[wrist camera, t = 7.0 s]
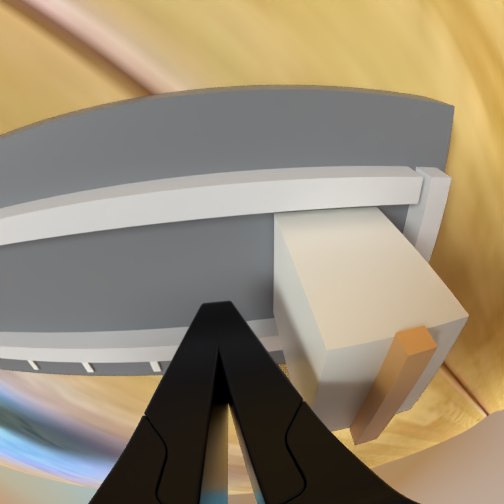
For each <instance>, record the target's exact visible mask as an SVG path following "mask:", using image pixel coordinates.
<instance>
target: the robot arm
mask: <svg viewBox="0 0 504 504" xmlns="http://www.w3.org/2000/svg"><path fill="white" fill-rule="evenodd" d="M228 404H229V407H230V411H231V414H232V418H233V422H234V425H235V429H236V433H237V436H238V440H239V444H240V447H241V451H242V454H243V457H244V461H245V464H246V468H247V471H248V474H249V478H250V481H251V484H252V488H253V491H254V494H255V497H256V500H257V503H258V504H420V503H417V502H415V501H413V500H410V499H409V498H407V497H405V496H403V495H402V494H400V493H399V492H397V491H396V490H394V489H393V488H392V487H390V486H389V485H388V484H387V483H385V482H384V481H383V480H382V479H381V478H379V477H378V476H377V475H376V474H375V473H374V472H373V471H372V470H371V469H369V468H368V467H367V466H366V465H365V464H364V463H363V462H362V461H361V460H359V459H358V458H357V457H356V456H355V455H354V454H353V453H352V452H351V451H350V450H348V449H347V448H346V447H345V446H344V445H343V444H342V443H341V442H340V441H339V440H338V439H337V438H336V437H335V436H334V435H333V434H332V433H331V432H330V431H329V429H328V428H327V427H326V426H325V425H324V423H323V422H322V421H321V420H320V419H319V418H318V416H317V415H316V414H315V413H314V411H313V410H312V409H311V408H310V406H309V405H308V404H307V402H306V401H303V398H302V396H301V395H300V394H299V392H298V391H297V390H296V388H295V387H294V386H293V384H292V383H291V382H290V380H289V379H288V378H287V377H286V375H285V374H284V373H283V371H282V370H281V369H280V367H279V366H278V364H277V363H276V362H275V360H274V359H273V358H272V356H271V355H270V354H269V352H268V351H267V350H266V348H265V347H264V346H263V344H262V343H261V341H260V340H259V339H258V337H257V336H256V335H255V333H254V332H253V330H252V329H251V328H250V326H249V325H248V323H247V322H246V321H245V319H244V318H243V316H242V315H241V314H240V312H239V311H238V309H237V308H236V307H235V305H234V304H233V302H231V301H229V300H228V301H218V302H208V303H203V304H201V306H200V307H199V309H198V311H197V313H196V315H195V317H194V319H193V321H192V322H191V324H190V326H189V328H188V330H187V332H186V334H185V336H184V337H183V339H182V341H181V343H180V345H179V347H178V349H177V351H176V353H175V355H174V356H173V358H172V360H171V362H170V364H169V366H168V368H167V370H166V372H165V374H164V376H163V378H162V379H161V381H160V383H159V385H158V387H157V389H156V391H155V393H154V395H153V397H152V399H151V401H150V403H149V405H148V407H147V409H146V410H145V413H144V414H145V416H142V418H141V420H140V422H139V424H138V426H137V428H136V430H135V432H134V433H133V435H132V437H131V439H130V441H129V443H128V444H127V446H126V448H125V450H124V451H123V453H122V454H121V456H120V457H119V459H118V461H117V462H116V464H115V465H114V467H113V468H112V470H111V471H110V473H109V474H108V476H107V477H106V479H105V480H104V481H103V483H102V484H101V486H100V487H99V489H98V490H97V492H96V493H95V495H94V496H93V498H92V499H91V501H90V502H89V503H88V504H228Z"/></svg>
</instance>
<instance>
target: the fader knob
mask: <svg viewBox="0 0 504 504" xmlns="http://www.w3.org/2000/svg"><path fill="white" fill-rule="evenodd" d="M273 313H274V317H275V321H276V325H277V329H278V333H279V337H280V341H281V345H282V349H283V353H284V358H285V362H286V366H287V370H288V374H289V378H290V382H291V383H292V384H293V386H294V387H295V388H296V390H297V391H298V392H299V394H300V395H301V396H302V398H303V401H306V402H307V404H308V405H309V406H310V408H311V409H312V410H313V411H314V413H315V414H316V415H317V416H318V418H319V419H320V420H321V421H322V422H323V423H324V425H325V426H326V427H327V428H328V429H329V431H330V432H332V431H337V430H341V429H345V428H349V427H350V432H351V435H352V438H353V441H354V444H355V445H357V444H361V443H364V442H368V441H371V440H374V439H377V438H378V436H379V435H380V434H381V432H382V431H383V430H384V429H385V427H386V426H387V425H388V423H389V422H390V420H391V419H392V418H393V416H394V415H395V414H398V413H401V412H404V411H407V410H409V409H411V408H412V407H413V405H414V404H415V403H416V401H417V400H418V399H419V397H420V396H421V394H422V393H423V392H424V390H425V389H426V387H427V386H428V384H429V383H430V381H431V380H432V378H433V377H434V375H435V374H436V372H437V371H438V369H439V368H440V366H441V365H442V363H443V361H444V360H445V358H446V357H447V355H448V353H449V352H450V350H451V348H452V347H453V345H454V343H455V342H456V340H457V338H458V336H459V335H460V333H461V331H462V329H463V327H464V325H465V324H466V322H467V320H468V318H469V315H468V313H467V312H466V311H465V309H464V308H463V307H462V305H461V304H460V303H459V301H458V300H457V299H456V297H455V296H454V295H453V294H452V292H451V291H450V290H449V288H448V287H447V286H446V285H445V283H444V282H443V281H442V280H441V279H440V277H439V276H438V275H437V274H436V272H435V271H434V270H433V269H432V268H431V266H430V265H429V264H428V263H427V262H426V260H425V259H424V258H423V257H422V256H421V255H420V253H419V252H418V251H417V250H416V249H415V248H414V247H413V245H412V244H411V243H410V242H409V241H408V240H407V239H406V238H405V237H404V235H403V234H402V233H401V232H400V231H399V230H398V229H397V228H396V227H395V226H394V224H393V223H392V222H391V221H390V220H389V219H388V218H387V217H386V216H385V215H384V214H383V213H382V212H381V211H380V210H379V209H378V208H377V207H359V208H343V209H327V210H312V211H298V212H285V213H274V294H273Z"/></svg>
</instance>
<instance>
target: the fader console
mask: <svg viewBox="0 0 504 504" xmlns="http://www.w3.org/2000/svg"><path fill="white" fill-rule="evenodd" d="M453 115H454V106H452V105H449V104H446V103H443V102H440V101H437V100H434V99H431V98H428V97H423V96H417V95H411V94H404V93H397V92H390V91H382V90H373V89H363V88H351V87H337V86H317V85H253V86H233V87H218V88H206V89H196V90H187V91H179V92H171V93H164V94H157V95H151V96H144V97H139V98H133V99H128V100H122V101H117V102H112V103H108V104H103V105H99V106H94V107H90V108H86V109H82V110H78V111H74V112H70V113H67V114H63V115H59V116H56V117H53V118H49V119H46V120H43V121H39V122H36V123H33V124H30V125H27V126H24V127H21V128H18V129H16V130H13V131H10V132H7V133H5V134H2V135H0V369H3V370H12V371H22V372H33V373H46V374H62V375H87V376H146V375H164V374H165V372H166V370H167V368H168V366H169V364H170V362H171V360H172V358H173V356H174V355H175V353H176V351H177V349H178V347H179V345H180V343H181V341H182V339H183V337H184V336H185V334H186V332H187V330H188V328H189V326H190V324H191V322H192V321H193V319H194V317H195V315H196V313H197V311H198V309H199V307H200V306H201V304H203V303H208V302H218V301H228V300H229V301H231V302H233V304H234V305H235V307H236V308H237V309H238V311H239V312H240V314H241V315H242V316H243V318H244V319H245V321H246V322H247V323H248V325H249V326H250V328H251V329H252V330H253V332H254V333H255V335H256V336H257V337H258V339H259V340H260V341H261V343H262V344H263V346H264V347H265V348H266V350H267V351H268V352H269V354H270V355H271V356H272V358H273V359H274V360H275V362H276V363H277V364H285V363H286V362H285V358H284V353H283V349H282V345H281V341H280V337H279V333H278V329H277V325H276V321H275V317H274V313H273V294H274V213H285V212H298V211H312V210H327V209H343V208H359V207H377V208H378V209H379V210H380V211H381V212H382V213H383V214H384V215H385V216H386V217H387V218H388V219H389V220H390V221H391V222H392V223H393V224H394V226H395V227H396V228H397V229H398V230H399V231H400V232H401V233H402V234H403V235H404V237H405V238H406V239H407V240H408V241H409V242H410V243H411V244H412V245H413V247H414V248H415V249H416V250H417V251H418V252H419V253H420V255H421V256H422V257H423V258H424V259H425V260H426V262H427V263H428V264H429V261H430V258H431V255H432V252H433V249H434V245H435V242H436V239H437V235H438V232H439V228H440V224H441V221H442V217H443V213H444V209H445V205H446V201H447V197H448V193H449V188H450V184H451V179H452V178H451V177H450V176H448V175H447V174H445V173H444V172H445V167H446V162H447V156H448V150H449V144H450V137H451V130H452V123H453Z"/></svg>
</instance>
